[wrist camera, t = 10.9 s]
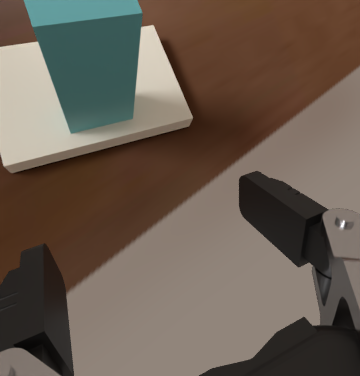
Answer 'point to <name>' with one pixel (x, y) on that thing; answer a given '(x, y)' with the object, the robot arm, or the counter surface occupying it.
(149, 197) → the counter surface
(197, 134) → the counter surface
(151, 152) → the counter surface
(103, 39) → the teal block on base
